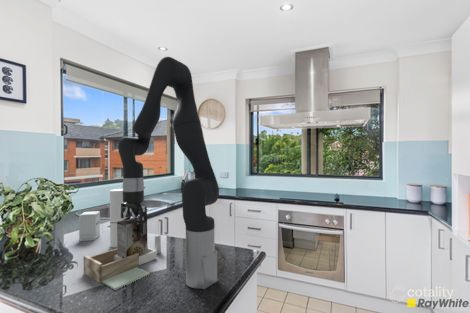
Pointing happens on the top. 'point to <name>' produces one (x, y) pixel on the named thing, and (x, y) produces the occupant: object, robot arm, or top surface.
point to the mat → (125, 278)
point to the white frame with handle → (151, 253)
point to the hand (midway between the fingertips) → (133, 231)
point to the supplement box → (89, 226)
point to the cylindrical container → (115, 214)
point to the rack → (108, 265)
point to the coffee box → (131, 238)
